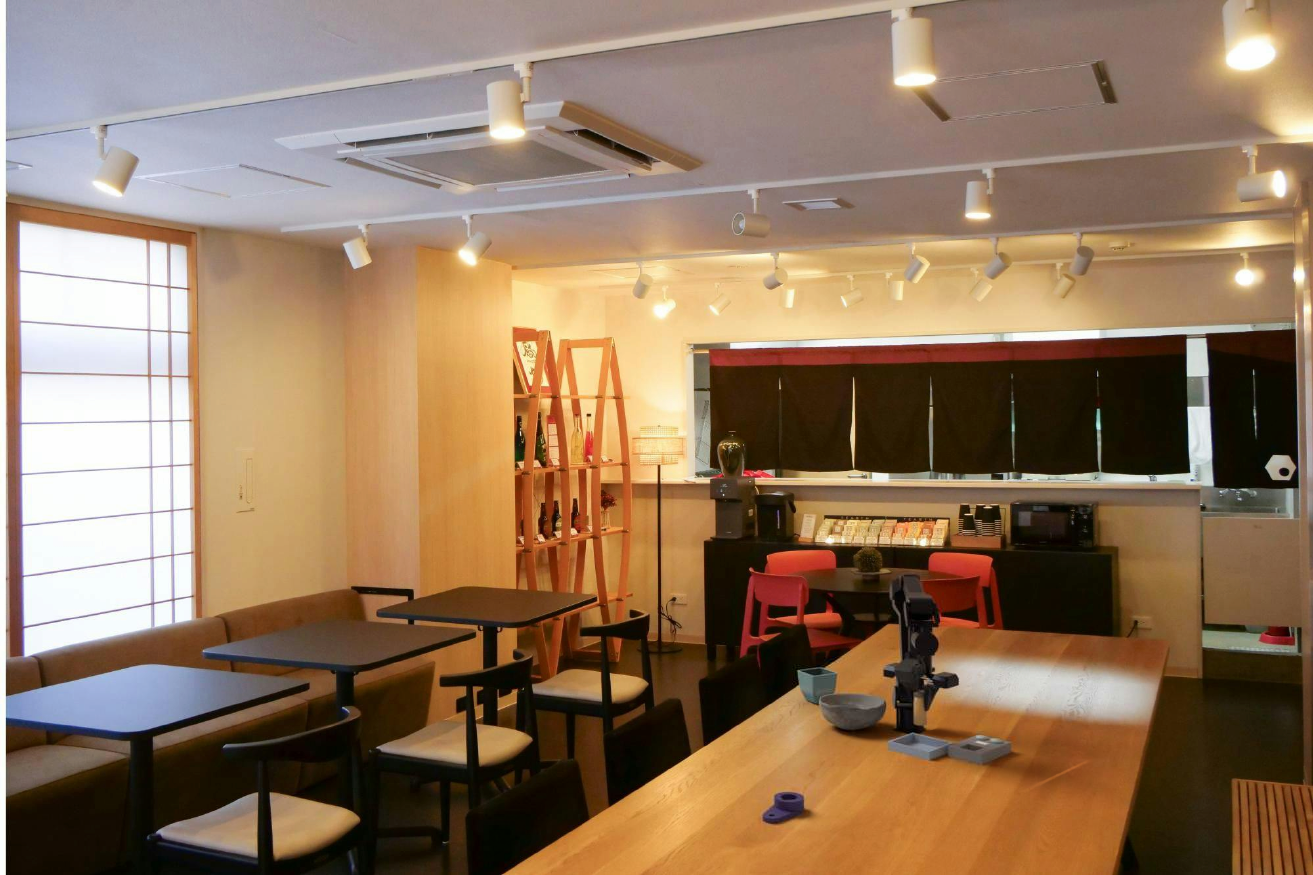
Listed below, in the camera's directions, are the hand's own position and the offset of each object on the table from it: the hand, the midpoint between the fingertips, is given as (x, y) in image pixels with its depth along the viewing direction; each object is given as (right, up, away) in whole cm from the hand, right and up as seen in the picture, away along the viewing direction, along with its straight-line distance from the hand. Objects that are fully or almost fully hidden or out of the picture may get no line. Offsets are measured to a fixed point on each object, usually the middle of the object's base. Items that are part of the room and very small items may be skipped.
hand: (920, 709), depth 265 cm
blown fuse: (0, -4, 0) cm, 4 cm away
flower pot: (-18, -11, +50) cm, 54 cm away
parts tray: (0, -11, 0) cm, 11 cm away
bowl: (-13, -11, +22) cm, 28 cm away
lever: (-40, -12, -42) cm, 59 cm away
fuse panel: (+14, -11, -4) cm, 18 cm away
